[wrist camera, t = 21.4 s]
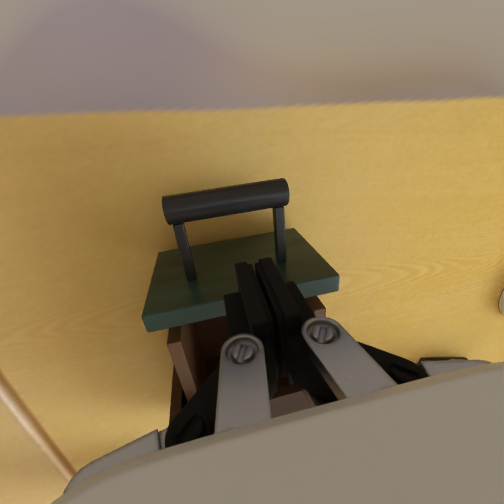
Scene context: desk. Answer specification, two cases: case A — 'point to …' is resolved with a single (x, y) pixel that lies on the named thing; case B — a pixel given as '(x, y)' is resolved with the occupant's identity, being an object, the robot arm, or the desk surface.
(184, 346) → the drawer
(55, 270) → the desk surface
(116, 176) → the desk surface
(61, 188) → the desk surface
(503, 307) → the bracket
